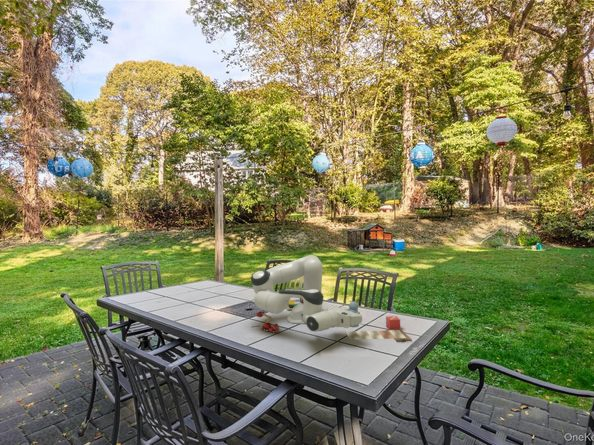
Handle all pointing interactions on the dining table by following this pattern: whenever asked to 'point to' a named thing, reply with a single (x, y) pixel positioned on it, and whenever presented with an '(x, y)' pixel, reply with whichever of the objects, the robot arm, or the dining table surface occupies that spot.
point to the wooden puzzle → (292, 304)
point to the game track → (388, 334)
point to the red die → (392, 322)
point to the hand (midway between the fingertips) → (354, 311)
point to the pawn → (353, 309)
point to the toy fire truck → (268, 324)
